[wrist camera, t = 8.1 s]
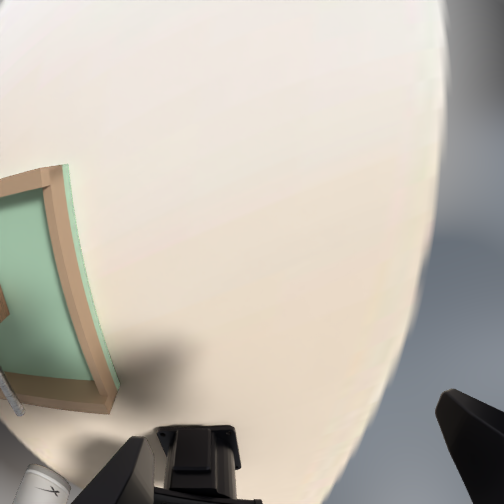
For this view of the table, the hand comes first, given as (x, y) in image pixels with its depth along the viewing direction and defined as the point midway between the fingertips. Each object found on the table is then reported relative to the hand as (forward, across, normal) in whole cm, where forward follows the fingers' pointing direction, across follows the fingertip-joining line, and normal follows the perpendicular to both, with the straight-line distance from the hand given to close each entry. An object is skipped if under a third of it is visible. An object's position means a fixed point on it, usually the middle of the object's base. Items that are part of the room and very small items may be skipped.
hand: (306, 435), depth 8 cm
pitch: (+12, +18, 0) cm, 22 cm away
